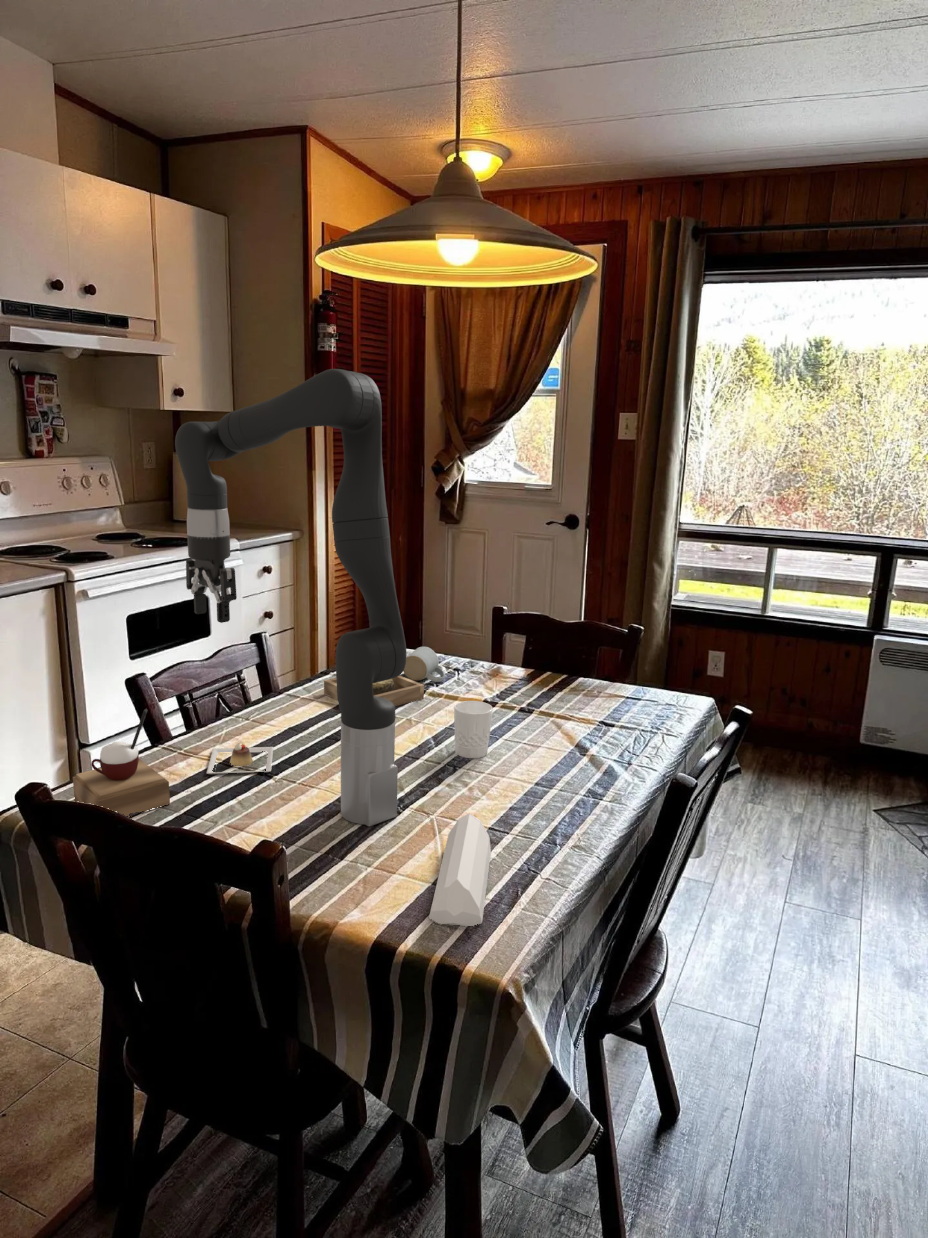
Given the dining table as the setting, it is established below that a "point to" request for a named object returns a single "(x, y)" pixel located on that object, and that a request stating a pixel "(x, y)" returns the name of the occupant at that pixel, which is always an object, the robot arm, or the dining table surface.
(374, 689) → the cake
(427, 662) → the ceramic mug
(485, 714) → the white cup
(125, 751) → the cocoa
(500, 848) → the dining table surface
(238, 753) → the dessert
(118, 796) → the walnut pedestal
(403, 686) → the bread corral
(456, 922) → the crystal
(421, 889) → the dining table surface
